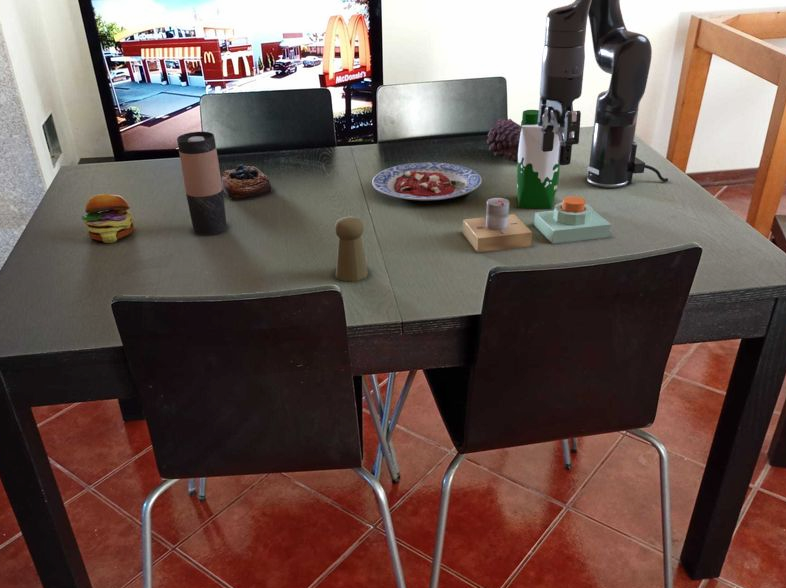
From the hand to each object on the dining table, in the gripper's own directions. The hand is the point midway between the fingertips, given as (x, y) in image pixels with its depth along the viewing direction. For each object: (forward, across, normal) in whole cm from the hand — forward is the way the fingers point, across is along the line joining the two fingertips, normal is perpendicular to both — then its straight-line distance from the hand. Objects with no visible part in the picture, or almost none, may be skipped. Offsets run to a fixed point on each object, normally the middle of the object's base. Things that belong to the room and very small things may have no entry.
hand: (555, 157), depth 147 cm
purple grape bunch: (+16, -50, +8) cm, 53 cm away
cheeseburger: (+15, -24, -90) cm, 94 cm away
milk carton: (+16, -17, +4) cm, 23 cm away
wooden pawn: (+15, +8, -42) cm, 46 cm away
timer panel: (+16, 0, -11) cm, 19 cm away
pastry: (+15, -44, -60) cm, 75 cm away
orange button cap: (+11, 0, +5) cm, 12 cm away
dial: (+13, 0, -11) cm, 17 cm away
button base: (+16, 0, +5) cm, 16 cm away
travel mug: (+15, -21, -68) cm, 73 cm away
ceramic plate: (+16, -33, -18) cm, 40 cm away
